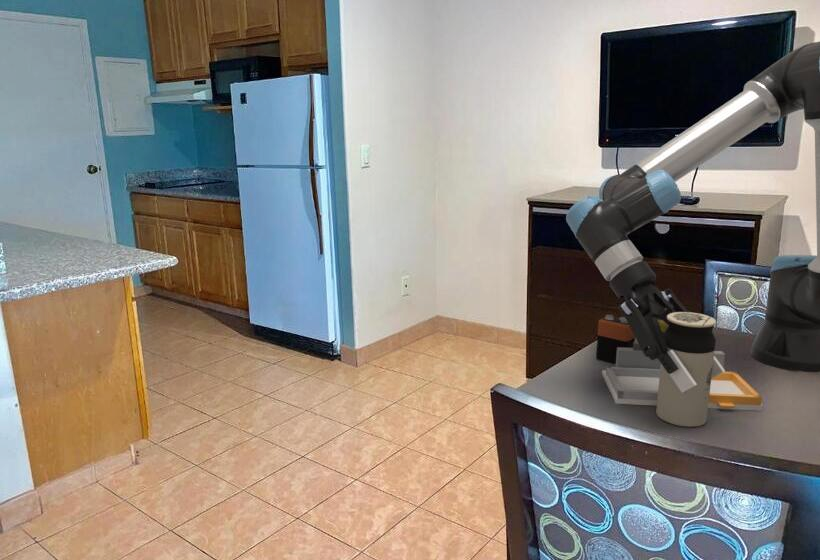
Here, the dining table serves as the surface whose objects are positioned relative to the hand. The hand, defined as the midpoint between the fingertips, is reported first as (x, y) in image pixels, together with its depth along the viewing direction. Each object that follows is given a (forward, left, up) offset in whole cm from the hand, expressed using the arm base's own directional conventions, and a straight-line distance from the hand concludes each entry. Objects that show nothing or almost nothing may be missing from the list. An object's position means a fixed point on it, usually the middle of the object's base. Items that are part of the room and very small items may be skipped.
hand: (704, 381), depth 100 cm
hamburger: (-5, -36, -8) cm, 37 cm away
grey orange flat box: (0, -14, -8) cm, 16 cm away
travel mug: (+2, -2, -8) cm, 9 cm away
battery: (+8, -29, -8) cm, 31 cm away
